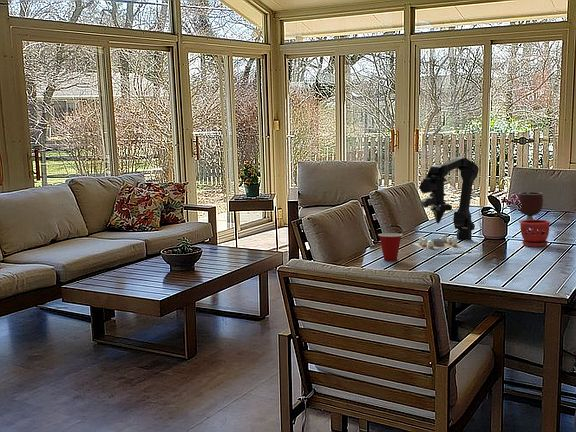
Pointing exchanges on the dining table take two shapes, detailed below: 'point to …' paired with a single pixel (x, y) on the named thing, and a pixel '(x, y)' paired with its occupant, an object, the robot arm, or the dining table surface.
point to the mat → (452, 253)
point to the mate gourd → (530, 203)
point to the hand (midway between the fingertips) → (437, 223)
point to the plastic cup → (390, 245)
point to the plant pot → (534, 232)
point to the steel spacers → (431, 242)
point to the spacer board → (436, 246)
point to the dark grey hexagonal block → (439, 242)
